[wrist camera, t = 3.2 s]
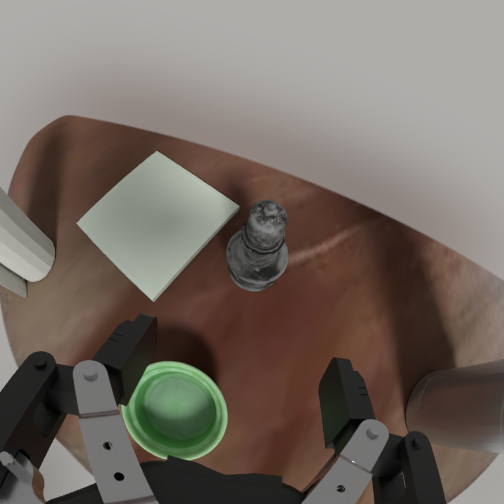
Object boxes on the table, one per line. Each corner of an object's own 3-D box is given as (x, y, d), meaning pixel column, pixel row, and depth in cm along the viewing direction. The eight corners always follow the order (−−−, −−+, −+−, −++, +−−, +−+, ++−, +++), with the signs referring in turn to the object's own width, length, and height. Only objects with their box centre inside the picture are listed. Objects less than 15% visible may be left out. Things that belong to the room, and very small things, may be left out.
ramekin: (215, 458, 21) (213, 473, 17) (127, 430, 21) (111, 438, 17) (236, 376, 25) (239, 378, 21) (148, 350, 25) (135, 346, 21)
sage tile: (239, 209, 32) (239, 206, 31) (153, 302, 27) (151, 300, 26) (157, 154, 35) (156, 150, 34) (79, 226, 29) (76, 223, 29)
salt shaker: (244, 232, 31) (257, 158, 20) (290, 259, 30) (327, 196, 19) (214, 274, 29) (210, 212, 18) (263, 305, 28) (290, 260, 17)
